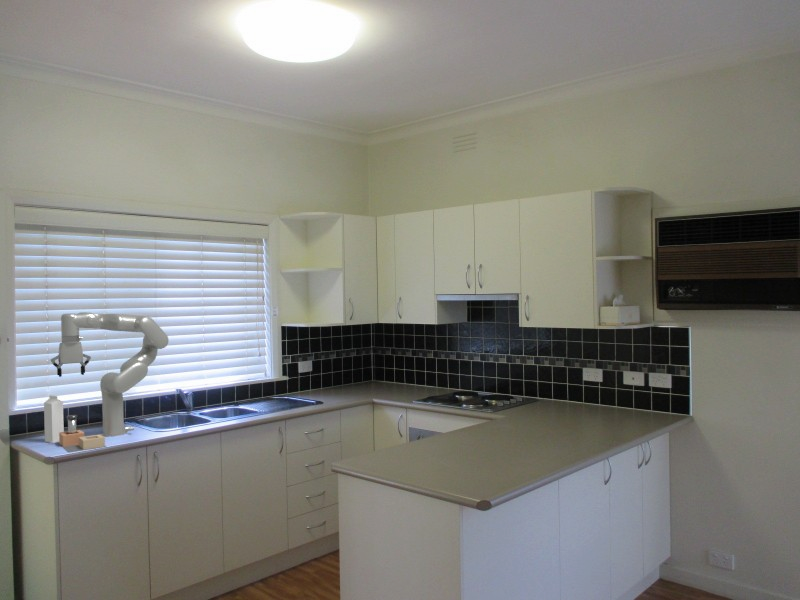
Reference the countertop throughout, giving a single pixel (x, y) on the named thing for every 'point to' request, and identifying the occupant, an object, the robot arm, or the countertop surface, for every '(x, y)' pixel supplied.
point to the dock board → (80, 441)
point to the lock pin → (71, 424)
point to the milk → (53, 419)
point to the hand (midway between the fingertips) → (71, 375)
